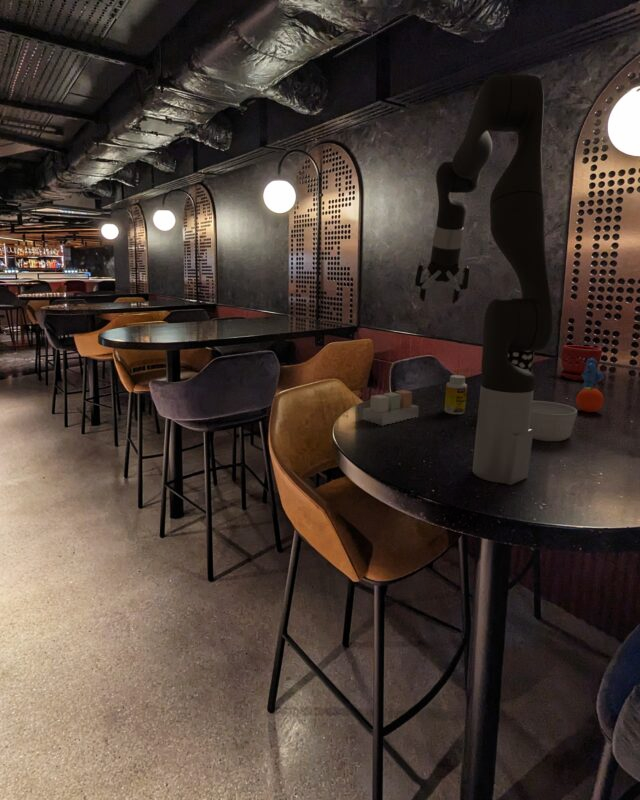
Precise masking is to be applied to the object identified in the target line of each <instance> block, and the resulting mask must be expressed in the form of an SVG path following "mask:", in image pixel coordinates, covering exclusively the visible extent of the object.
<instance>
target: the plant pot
mask: <svg viewBox="0 0 640 800" xmlns="http://www.w3.org/2000/svg"><path fill="white" fill-rule="evenodd" d="M602 352H603V349H602V348H600V347H594V346H586V345H585V346H584V345H575V344H574V345H571V344H568V345H567V344H566V345H563V346H562V350H561V358H560V360H561V367H562V370H561V371H560V374H561V376H562V377H564V378H566V379H570V380H572V381H574V380H575V381H584V379H583V377H582V376H581V374H582V373H584V372H585V369H586V368H585V366H586V361H587V360H588V359H590V358H594V359H595V360H596V362H597V365H596V369H597V370H598V366H599V364H600V361H601V357H602ZM583 360H584V361H583Z"/></svg>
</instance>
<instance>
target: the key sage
mask: <svg viewBox="0 0 640 800" xmlns="http://www.w3.org/2000/svg"><path fill="white" fill-rule="evenodd" d="M382 395H383V396H387V397H389V400H388V409H389V410H395V409H399V408H400V398H401V394H397V393H395V392H392V391H391V392H386V393H383V394H382Z"/></svg>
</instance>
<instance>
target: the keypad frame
mask: <svg viewBox="0 0 640 800" xmlns="http://www.w3.org/2000/svg"><path fill="white" fill-rule="evenodd" d="M419 411H420V405H417V404H412V403H411V406H408V407H400V408H399V409H395V410H389V409H388V411H386V412H382V413H377V412H374V411H371V410H370V406H369V407H365V408H362V416H361V417H362V419H361V420H362V421H364V420H365V422H367V421H368V422H367V423H370V422H371V423H370V424H373V423H375V424H374V425H376V424H378V425H377V426H380V425H381V426H380V427H385V426H388V425H387V424H389V425H393V424H396V422H397V423H400V421H401V422H403V421H404V420H405V421H407V419H409V420H412V419H415V417H416V418H419ZM411 418H412V419H411ZM392 423H393V424H392ZM384 425H385V426H384Z"/></svg>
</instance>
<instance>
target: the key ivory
mask: <svg viewBox="0 0 640 800" xmlns="http://www.w3.org/2000/svg"><path fill="white" fill-rule="evenodd" d="M388 400H389V397H387V396H383V394H376V395H371V396H370V406H369V407H370V410H371V411H374V412H377V413H382V412H386V411H388Z"/></svg>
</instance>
